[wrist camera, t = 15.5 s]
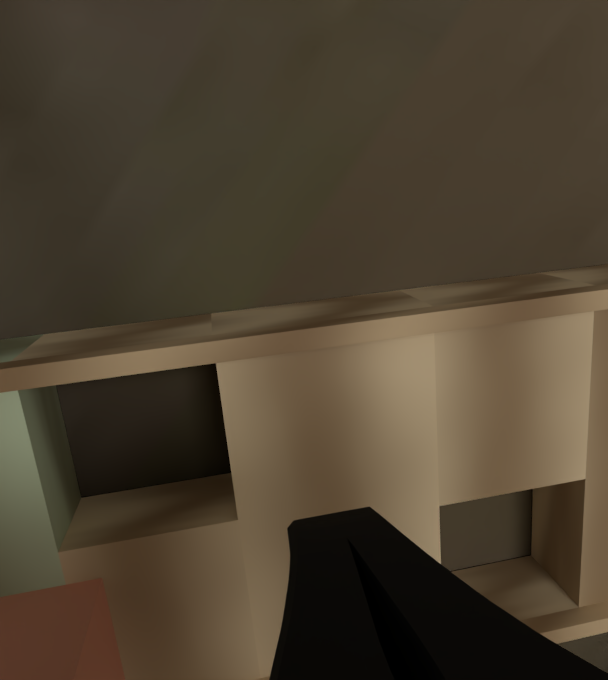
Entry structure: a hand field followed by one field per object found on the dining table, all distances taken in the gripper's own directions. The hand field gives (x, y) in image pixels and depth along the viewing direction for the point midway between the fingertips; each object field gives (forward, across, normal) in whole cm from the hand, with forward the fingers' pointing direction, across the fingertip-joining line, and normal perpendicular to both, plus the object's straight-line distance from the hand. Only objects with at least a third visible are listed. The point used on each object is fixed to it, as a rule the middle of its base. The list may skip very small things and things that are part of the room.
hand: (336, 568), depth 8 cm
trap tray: (+10, -1, +4) cm, 11 cm away
